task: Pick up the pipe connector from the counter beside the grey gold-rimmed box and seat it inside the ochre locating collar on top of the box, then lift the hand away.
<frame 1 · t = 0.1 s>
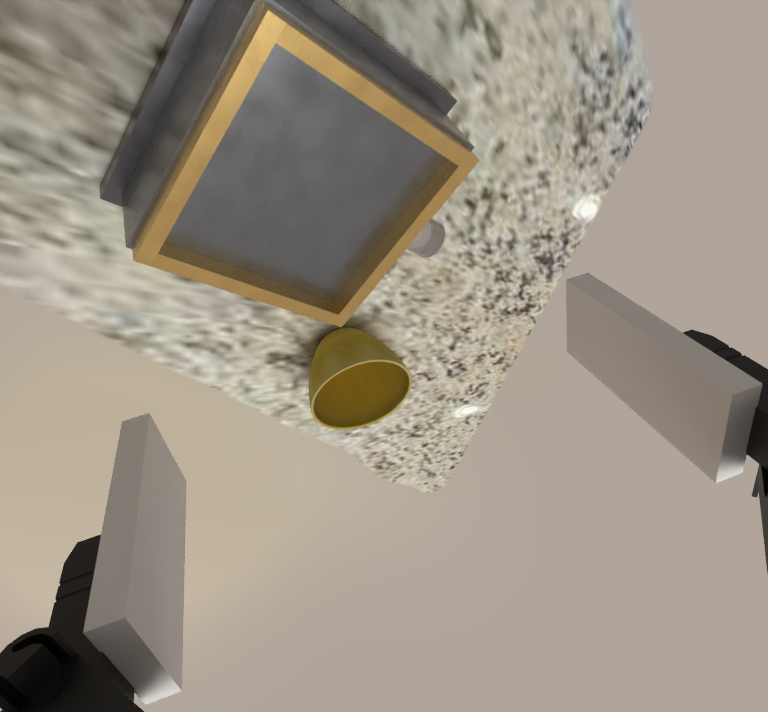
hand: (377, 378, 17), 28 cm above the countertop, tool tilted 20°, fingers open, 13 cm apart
grey gold-rimmed box: (281, 137, 40), on the countertop
flower pot: (341, 342, 58), on the countertop
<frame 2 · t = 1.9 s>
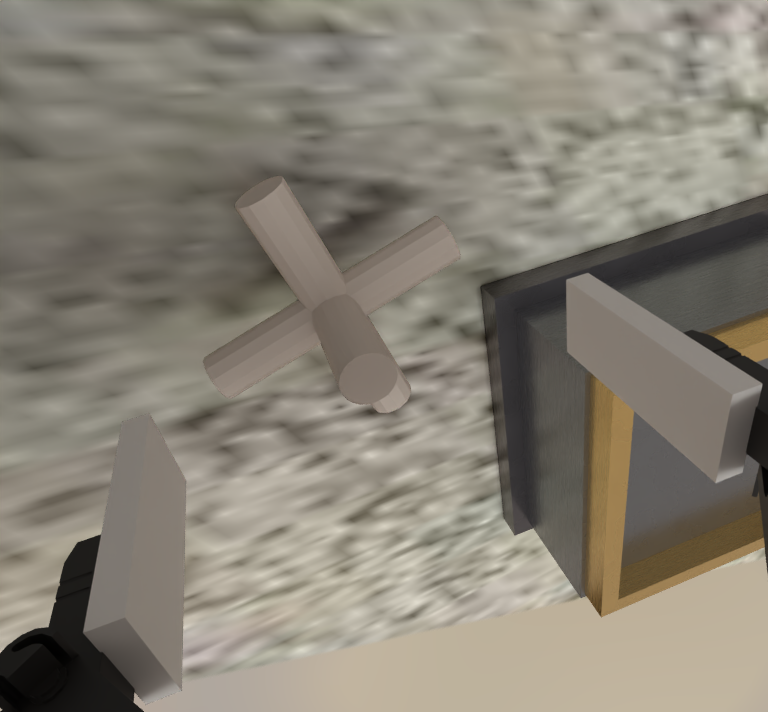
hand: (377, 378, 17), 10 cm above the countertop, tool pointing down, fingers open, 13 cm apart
grey gold-rimmed box: (627, 371, 35), on the countertop
pipe connector: (307, 258, 25), on the countertop
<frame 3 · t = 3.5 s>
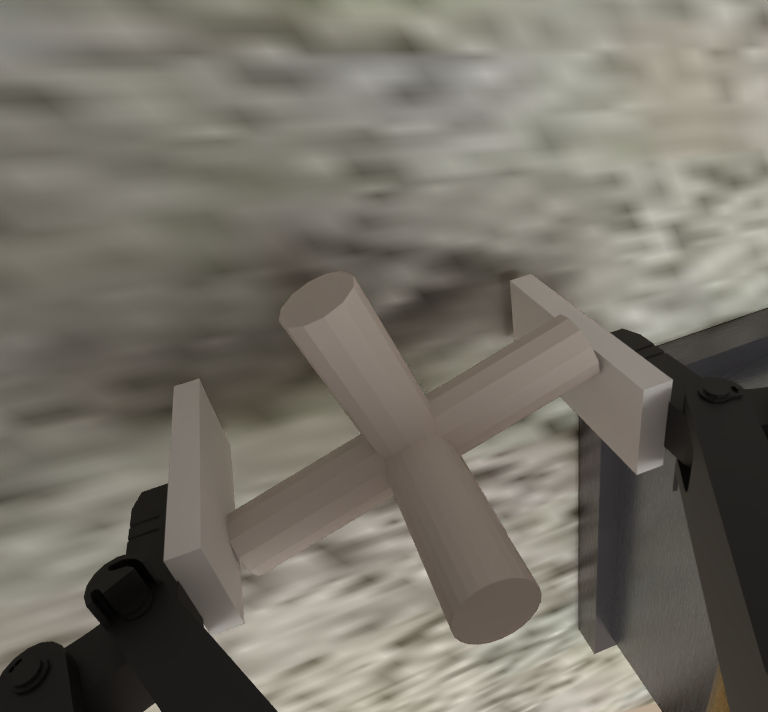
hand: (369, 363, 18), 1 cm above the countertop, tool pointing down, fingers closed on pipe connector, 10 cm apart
grey gold-rimmed box: (741, 462, 28), on the countertop
pipe connector: (361, 348, 19), on the countertop, touching gripper
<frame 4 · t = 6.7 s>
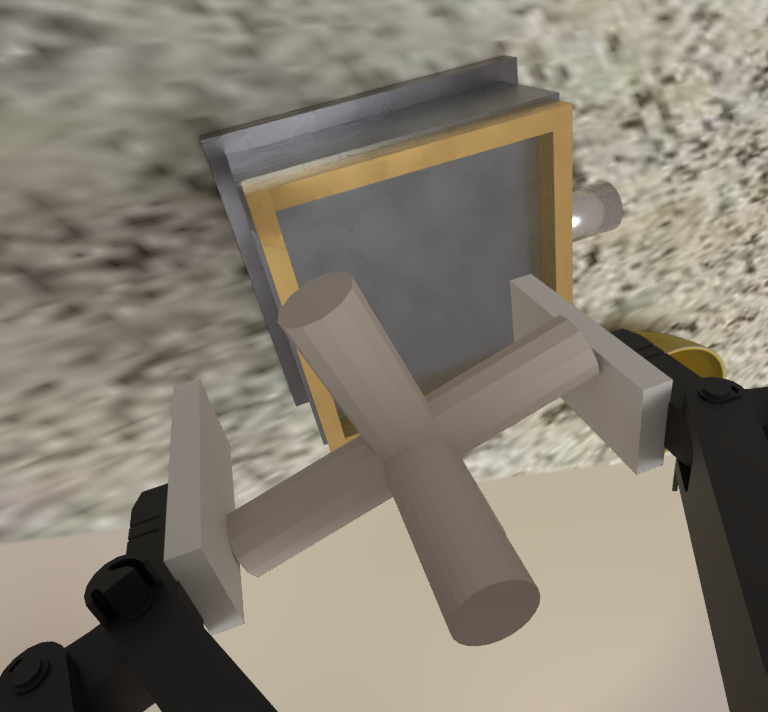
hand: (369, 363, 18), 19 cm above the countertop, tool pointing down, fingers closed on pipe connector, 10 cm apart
grey gold-rimmed box: (387, 242, 37), on the countertop
flower pot: (607, 357, 48), on the countertop
pipe connector: (361, 349, 19), point 18 cm above the countertop, touching gripper
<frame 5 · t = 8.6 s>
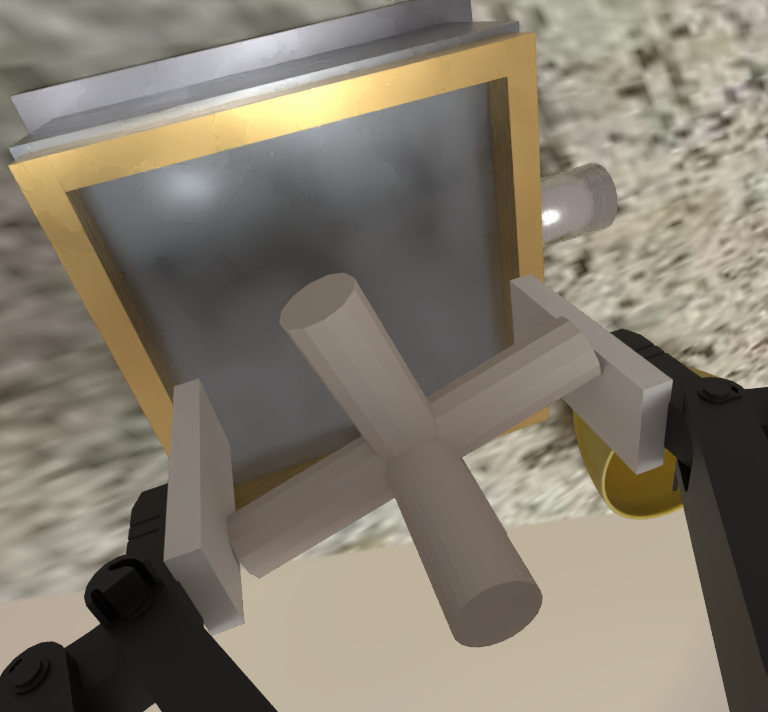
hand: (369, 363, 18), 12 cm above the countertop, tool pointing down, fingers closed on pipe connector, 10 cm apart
grey gold-rimmed box: (307, 243, 28), on the countertop
flower pot: (603, 388, 39), on the countertop
pipe connector: (362, 350, 19), point 11 cm above the countertop, touching gripper
when the fingers open (10 cm above the countertop, at t = 10.0 s): pipe connector drops 2 cm, resting on grey gold-rimmed box.
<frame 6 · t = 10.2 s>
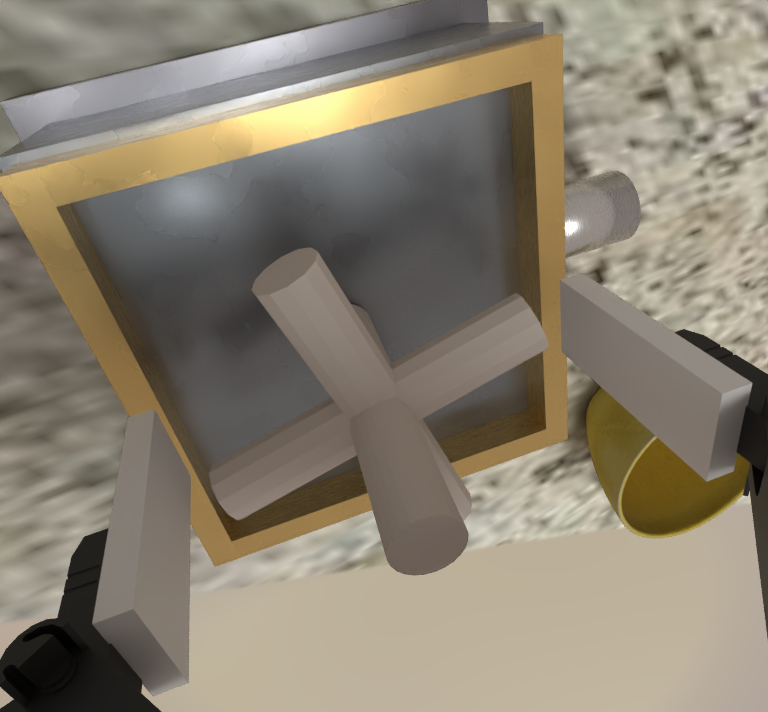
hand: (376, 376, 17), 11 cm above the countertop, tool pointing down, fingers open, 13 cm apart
grey gold-rimmed box: (313, 254, 27), on the countertop
flower pot: (617, 400, 38), on the countertop
pipe connector: (345, 324, 20), point 7 cm above the countertop, touching grey gold-rimmed box
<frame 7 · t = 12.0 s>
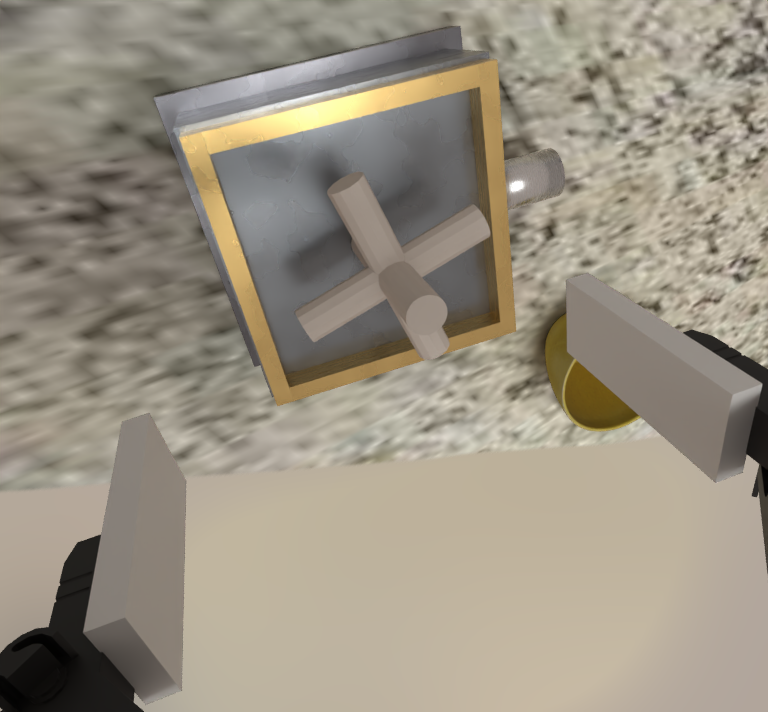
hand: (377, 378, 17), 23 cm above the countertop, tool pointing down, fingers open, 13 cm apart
grey gold-rimmed box: (342, 207, 38), on the countertop
flower pot: (570, 333, 49), on the countertop
pipe connector: (366, 241, 32), point 7 cm above the countertop, touching grey gold-rimmed box
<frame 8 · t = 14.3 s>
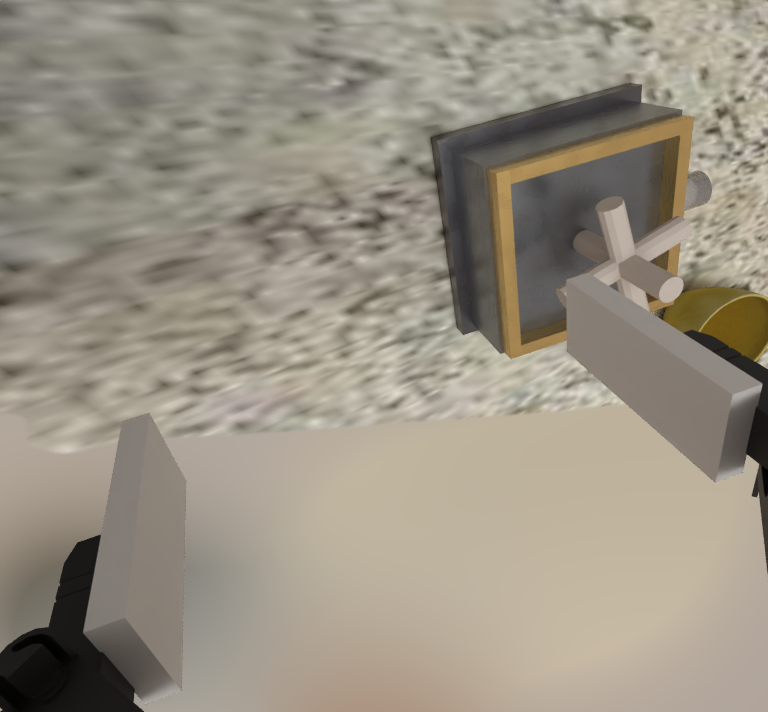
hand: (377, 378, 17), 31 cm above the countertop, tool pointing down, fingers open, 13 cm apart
grey gold-rimmed box: (537, 214, 51), on the countertop
flower pot: (681, 310, 62), on the countertop
pipe connector: (581, 240, 45), point 7 cm above the countertop, touching grey gold-rimmed box
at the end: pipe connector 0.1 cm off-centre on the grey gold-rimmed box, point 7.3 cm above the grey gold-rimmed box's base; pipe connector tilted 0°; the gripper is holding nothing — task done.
